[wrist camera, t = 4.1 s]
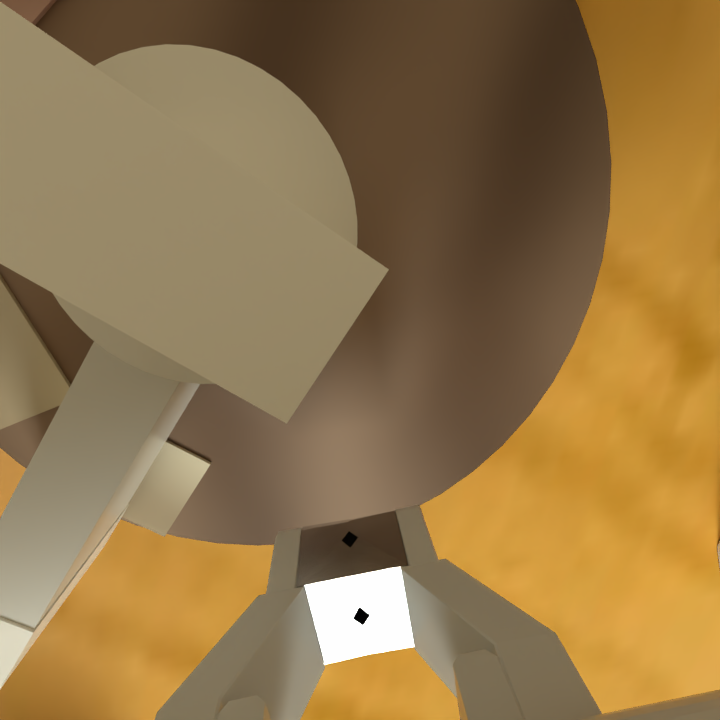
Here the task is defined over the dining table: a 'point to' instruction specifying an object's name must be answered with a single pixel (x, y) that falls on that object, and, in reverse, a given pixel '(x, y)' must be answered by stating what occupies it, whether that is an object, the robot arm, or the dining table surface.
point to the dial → (371, 253)
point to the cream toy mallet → (158, 272)
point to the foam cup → (719, 552)
